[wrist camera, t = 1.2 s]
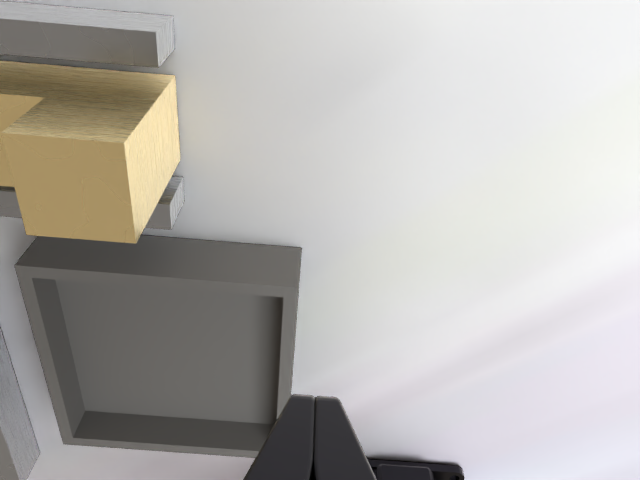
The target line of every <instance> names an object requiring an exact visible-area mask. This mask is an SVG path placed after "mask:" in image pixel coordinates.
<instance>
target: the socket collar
mask: <svg viewBox="0 0 640 480" xmlns="http://www.w3.org/2000/svg"><path fill="white" fill-rule="evenodd" d="M39 454H40V452H39V449H38V445H37V442H36V439H35V436H34V433H33V430H32V426H31V423H30V420H29V417H28V414H27V411H26V407H25V404H24V401H23V398H22V395H21V391H20V388H19V385H18V382H17V379H16V376H15V372H14V369H13V366H12V363H11V360H10V357H9V353H8V350H7V347H6V344H5V341H4V337H3V334H2V331H1V328H0V480H27V478H28V476H29V474H30V472H31V470H32V468H33V466H34V464H35V462H36V460H37V458H38V456H39Z"/></svg>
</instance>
